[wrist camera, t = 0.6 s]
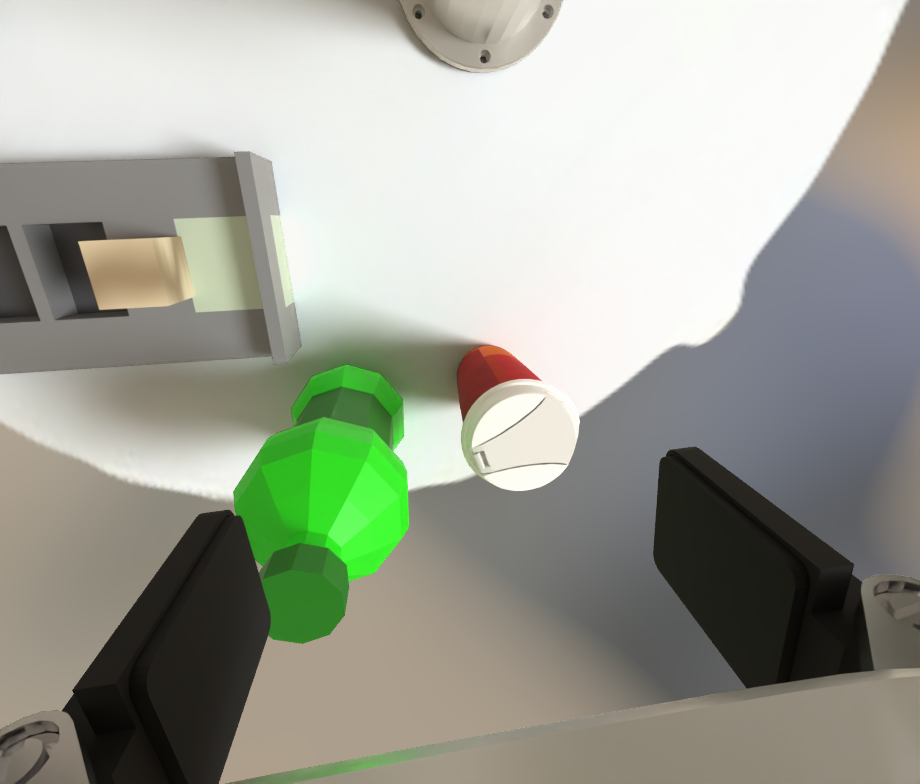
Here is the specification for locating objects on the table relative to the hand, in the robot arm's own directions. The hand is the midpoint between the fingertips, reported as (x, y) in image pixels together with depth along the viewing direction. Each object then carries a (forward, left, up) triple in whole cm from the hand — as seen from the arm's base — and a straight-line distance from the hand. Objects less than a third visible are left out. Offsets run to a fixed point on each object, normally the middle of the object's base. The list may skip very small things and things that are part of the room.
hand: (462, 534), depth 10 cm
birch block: (-4, -20, -30) cm, 37 cm away
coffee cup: (+7, +6, -34) cm, 35 cm away
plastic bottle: (+9, -7, -34) cm, 36 cm away
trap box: (-4, -23, -33) cm, 41 cm away
